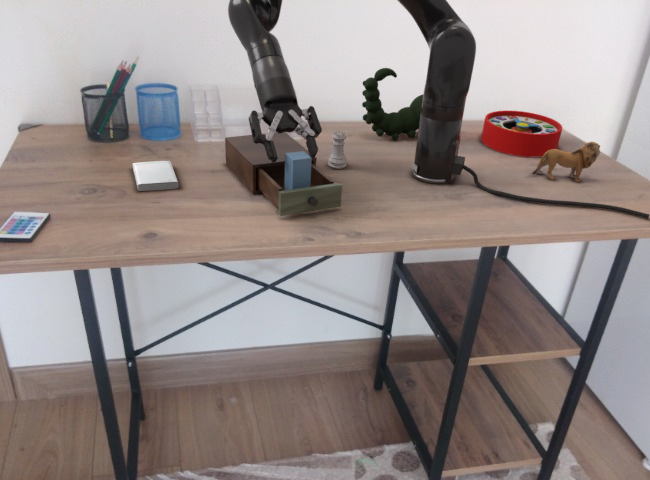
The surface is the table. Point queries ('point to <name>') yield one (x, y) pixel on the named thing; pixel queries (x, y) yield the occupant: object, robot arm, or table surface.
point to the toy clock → (520, 133)
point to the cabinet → (257, 156)
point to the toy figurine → (392, 122)
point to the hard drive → (154, 175)
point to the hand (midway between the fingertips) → (294, 158)
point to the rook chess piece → (337, 151)
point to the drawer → (298, 191)
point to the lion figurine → (570, 159)
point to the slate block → (297, 170)
